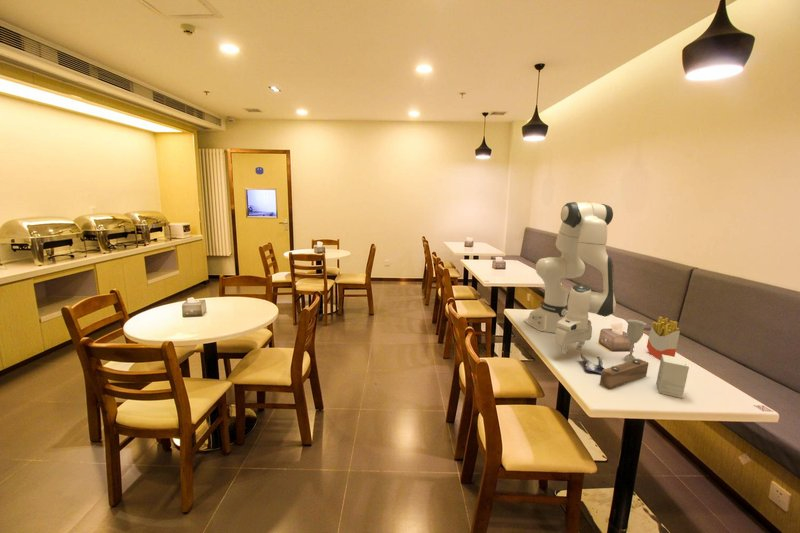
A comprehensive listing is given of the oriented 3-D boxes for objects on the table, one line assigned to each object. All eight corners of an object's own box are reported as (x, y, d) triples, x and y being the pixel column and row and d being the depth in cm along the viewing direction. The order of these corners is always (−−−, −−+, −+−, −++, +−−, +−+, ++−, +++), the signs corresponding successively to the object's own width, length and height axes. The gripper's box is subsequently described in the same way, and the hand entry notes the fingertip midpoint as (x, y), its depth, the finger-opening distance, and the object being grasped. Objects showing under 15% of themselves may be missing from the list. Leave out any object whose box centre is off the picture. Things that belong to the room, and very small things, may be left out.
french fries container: (663, 362, 156) (671, 323, 152) (644, 351, 166) (652, 315, 163) (673, 362, 156) (681, 324, 153) (654, 351, 167) (661, 315, 163)
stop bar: (599, 384, 135) (602, 368, 134) (635, 371, 146) (638, 356, 145) (609, 389, 132) (612, 372, 130) (646, 376, 143) (649, 360, 141)
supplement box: (679, 389, 134) (686, 358, 131) (682, 399, 127) (689, 366, 125) (655, 383, 137) (661, 353, 135) (657, 392, 131) (664, 361, 128)
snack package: (610, 368, 149) (580, 359, 156) (613, 355, 147) (582, 346, 154) (605, 384, 140) (573, 373, 147) (608, 370, 138) (575, 360, 145)
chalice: (641, 365, 152) (649, 326, 148) (624, 363, 153) (631, 324, 149) (634, 358, 159) (641, 320, 155) (617, 356, 160) (624, 318, 156)
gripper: (584, 316, 163) (580, 344, 166) (554, 322, 154) (550, 352, 156) (597, 321, 158) (593, 350, 160) (567, 327, 148) (562, 358, 151)
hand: (571, 351), depth 158 cm, fingers open, 8 cm apart
